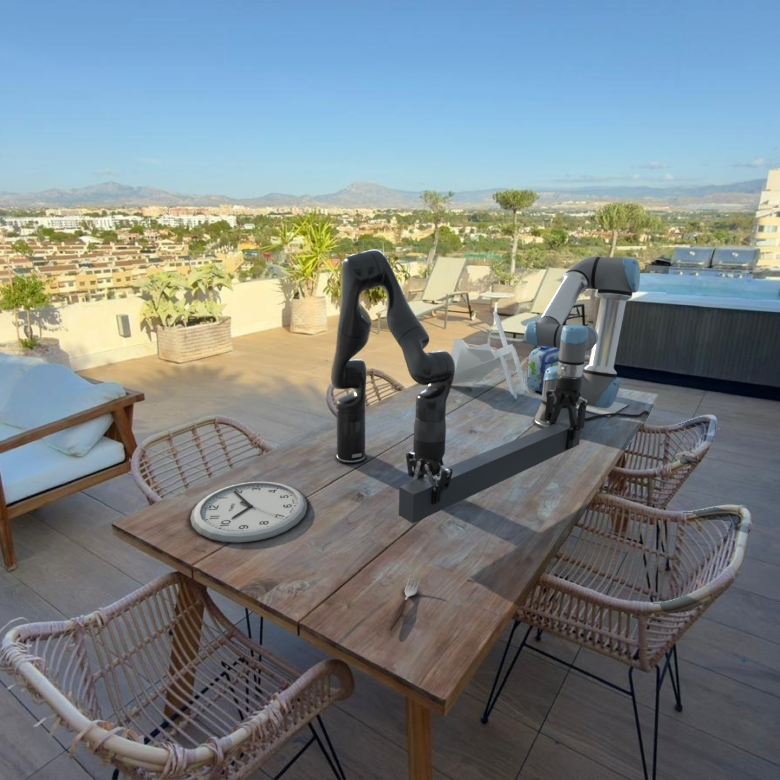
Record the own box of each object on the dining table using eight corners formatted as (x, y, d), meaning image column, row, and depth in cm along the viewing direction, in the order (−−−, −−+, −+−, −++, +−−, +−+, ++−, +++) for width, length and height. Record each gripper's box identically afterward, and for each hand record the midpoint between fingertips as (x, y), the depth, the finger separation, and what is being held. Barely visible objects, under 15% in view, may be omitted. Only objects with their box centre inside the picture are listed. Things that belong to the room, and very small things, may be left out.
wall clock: (302, 534, 126) (174, 538, 123) (303, 540, 126) (175, 544, 124) (310, 477, 154) (206, 479, 152) (310, 482, 155) (206, 484, 152)
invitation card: (608, 416, 214) (573, 407, 224) (608, 416, 214) (573, 408, 224) (628, 404, 229) (594, 396, 238) (628, 405, 229) (594, 397, 238)
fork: (383, 631, 98) (383, 622, 98) (409, 580, 113) (410, 572, 112) (396, 635, 98) (396, 626, 97) (421, 583, 112) (421, 575, 111)
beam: (565, 440, 174) (568, 418, 172) (579, 444, 170) (582, 422, 168) (398, 515, 127) (399, 486, 125) (412, 523, 123) (413, 494, 121)
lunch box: (542, 396, 239) (547, 351, 232) (522, 391, 246) (526, 347, 240) (570, 385, 256) (575, 343, 250) (550, 380, 263) (554, 339, 257)
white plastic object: (461, 429, 252) (437, 405, 227) (444, 352, 274) (420, 323, 250) (535, 404, 240) (518, 377, 215) (510, 326, 262) (492, 293, 237)
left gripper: (397, 429, 126) (396, 492, 131) (440, 448, 116) (437, 516, 121) (419, 422, 131) (417, 483, 136) (463, 440, 121) (459, 505, 126)
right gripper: (537, 371, 165) (530, 439, 172) (590, 384, 152) (580, 458, 159) (550, 367, 169) (543, 434, 176) (603, 380, 156) (593, 451, 163)
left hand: (427, 498), depth 129 cm, fingers closed on beam, 5 cm apart
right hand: (560, 445), depth 167 cm, fingers closed on beam, 5 cm apart
